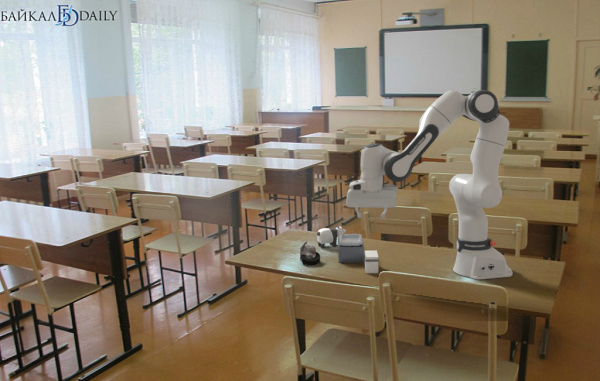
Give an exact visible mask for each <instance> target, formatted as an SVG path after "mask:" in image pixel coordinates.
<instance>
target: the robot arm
mask: <svg viewBox="0 0 600 381" xmlns="http://www.w3.org/2000/svg"><path fill="white" fill-rule="evenodd" d="M499 106H500V105H499V101H498V98H497V96H496V95H495V93H493V92H492V91H489V90H488V89H480V90H476V91H474V92H472V93H471V94H469V95H463V94H462V93H461V92H459V91H458V90H455V89H449V90H447V91H446V92H444V93H443V94H442V95H441V96H439V97H438V98H437V99H436V100H434V101H433V102H432V103H431V105H430V106H429V107H428V108H427V109H426V110H425V111H424V112H423V114H422V116H421V117H419V118H420V119H419V122H418V125H419V126H418V131H417V134H416V136H415V137H414V138H413V139H412V140H411V142H410V143H409V144H408V145H407V146H406V147H405V149H404V150H402V151H401V152H399V151H395V150H391V149H389V148H387V147H386V146H384V145H383V144H381V143H370V144H367V145H365V146H363V147H362V149H361V154H360V169H361V173H360V179H357V180H354V181H353V180H352V181H351V182H349V186H348V187H349V188H348V191H347V193H346V199H345V200H346V202H345V203H346V207H347V208H354V211H355V212H356V214H357V218H358V219H362V212H359V208H382V209H383V212H381V213H380V219H385V218H386V216H385V215H386V213H387V212H388V209H389V208H396V207H397V204H398V202H397V195H398V192H399V190H398V189H399V188H398V187H397V186H396V185H395V184H391V183H390V184H387V183H386V184H385V183H383V182H384V180H383V179H384V178H383V177H384V176H385V175H386V177H387V179H389V180H390V181H392V182H395V183H399V182H400V183H401V182H403V181H405V180H407V179H408V178H409V177H410V175H411V174H412V171H413V169H414V166H415V165H416V163H417V162H418V160H419V159H420V158H421V157H422V156H423V155H424V154H425V152H427V150H428V149H429V147H430V146H432V144H433V143H434V142H435V141H436V140H437V139H438V138H439V137H440V136H442V135H443V133H444V132H446V131H447V130H448V129H449V128H450V127H451V126H452V124H453V123H455V122H456V120H457V119H459V118H461V117H464V118H466V119H467V120H470V121H473V122H474V121H476V122H477V123H478V131H477V132H478V133H477V135H476V138H475V141H474V144H473V147H472V150H471V154H470V157H469V160H470V162H471V164H472V174H470V173H457V174H455V175H454V176H453V177H451V179H450V181H449V184H448V189H449V192H450V194H451V195H452V198H453V199H454V203H455V206H456V212H457V217H458V232H457V233H458V236H457V237H456V251H457V252H456V259H455V261H454V265H453V270H452V271H453V272H454V273H456V274H458V275H460V276H463V277H468V278H471V279H473V280H487V279H488V280H489V279H498V278H499V279H500V278H501V279H502V278H511V277H512V276H513V269H511V268H510V266H508V265H507V261H506V258H505V256H504V255H503V253H501V252H499V251H498V250H497V249H495V248H494V247H496V245H497V243H496V242H495V241H494V240H493V239H491V238H490V237H489V236H488V233H489V231H488V230H489V229H488V228H489V219H488V216H487V215H486V213H485V211H484V209H491V208H495V207H497V206H498V205H499V204H500V202H501V201H502V198H503V190H502V187H501V186H500V182H499V169H500V168H499V167H500V163H501V160H502V156H503V154H504V150H505V147H506V143H507V140H508V137H509V132H510V131H509V130H510V121H509V119H508V117H505V116H504V115H502V114H500V113H501V112H500V107H499ZM483 208H484V209H483Z"/></svg>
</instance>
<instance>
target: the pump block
mask: <svg viewBox="0 0 600 381" xmlns="http://www.w3.org/2000/svg"><path fill="white" fill-rule="evenodd" d="M379 261H380V260H379V254H378V250H364V270H365V274H379Z"/></svg>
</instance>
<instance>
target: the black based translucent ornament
mask: <svg viewBox="0 0 600 381" xmlns="http://www.w3.org/2000/svg"><path fill="white" fill-rule="evenodd" d="M299 249H300V250H299V260H300V261H301V263H302V264H303V265H305V266H308V267H310V266H311V267H312V266H317V265H318V264H320V263H321V254H320V253H319V252H318V251H317V248H316V247H315V245H313V244H312V245H311V244H309V243H308V241H305V242H304V243H303V245H301V247H300V248H299Z"/></svg>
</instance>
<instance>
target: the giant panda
mask: <svg viewBox="0 0 600 381" xmlns="http://www.w3.org/2000/svg"><path fill="white" fill-rule="evenodd" d="M346 232H347V229H344V228H343V227H342V226H340V225H338V224H337V225H336V228H335V227H332V228H330V227H329V228H327V227H325V228H324V227H323V228H320V229H318V231H317V233H316V239H317V240H316V241H317V244H318V245H317V246H318V247H320V249H326V248H327V247H326V244H329V245H330V246H332V247H333V248H336V246H337V247H338V244H337V243H338V237H339V235H340V234H346Z"/></svg>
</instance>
